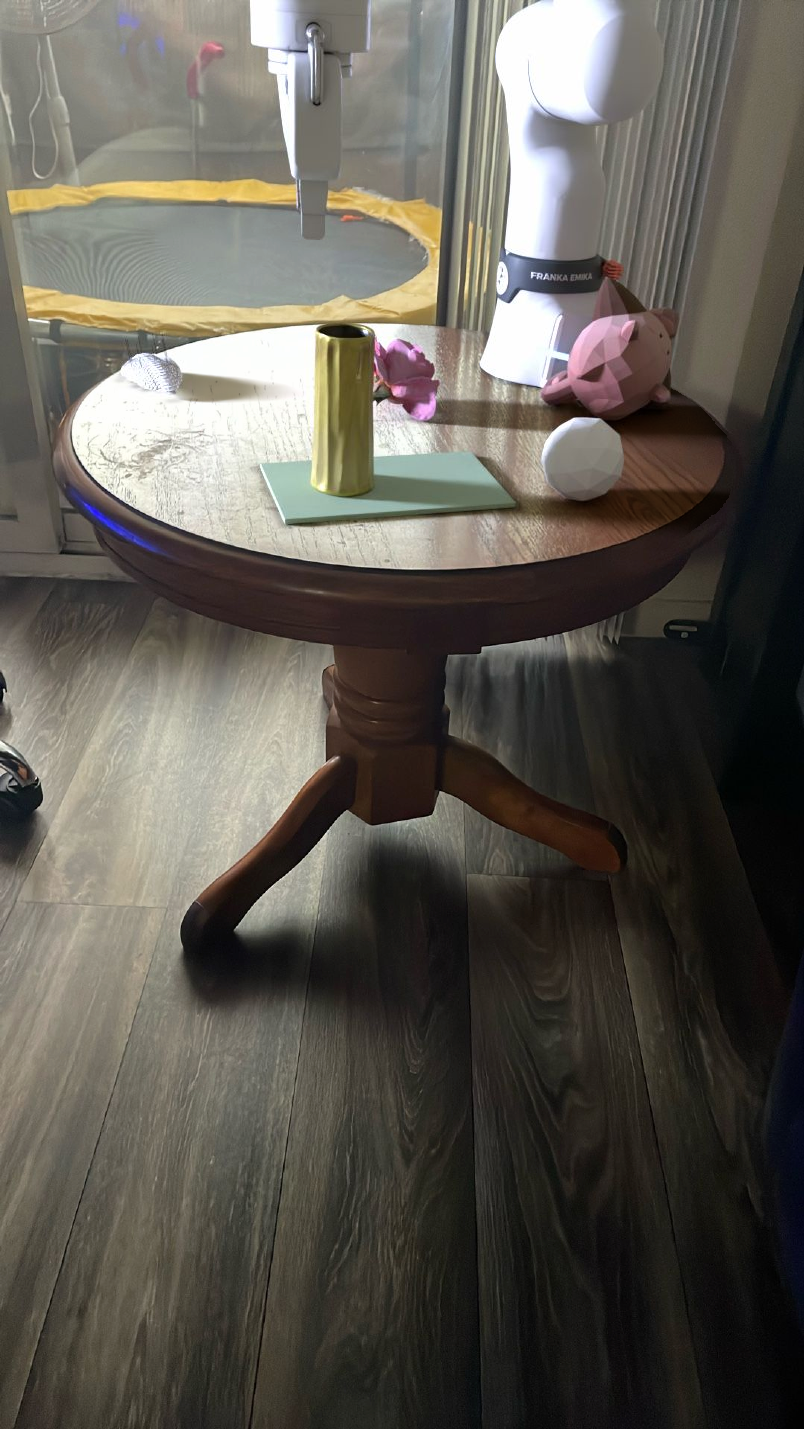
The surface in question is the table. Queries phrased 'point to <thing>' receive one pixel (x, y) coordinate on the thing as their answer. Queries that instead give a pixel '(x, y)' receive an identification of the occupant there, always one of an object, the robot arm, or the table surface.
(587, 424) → the geometric ball
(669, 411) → the table surface
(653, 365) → the toy
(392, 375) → the flower
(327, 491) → the vase
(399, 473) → the mat
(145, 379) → the pincushion
